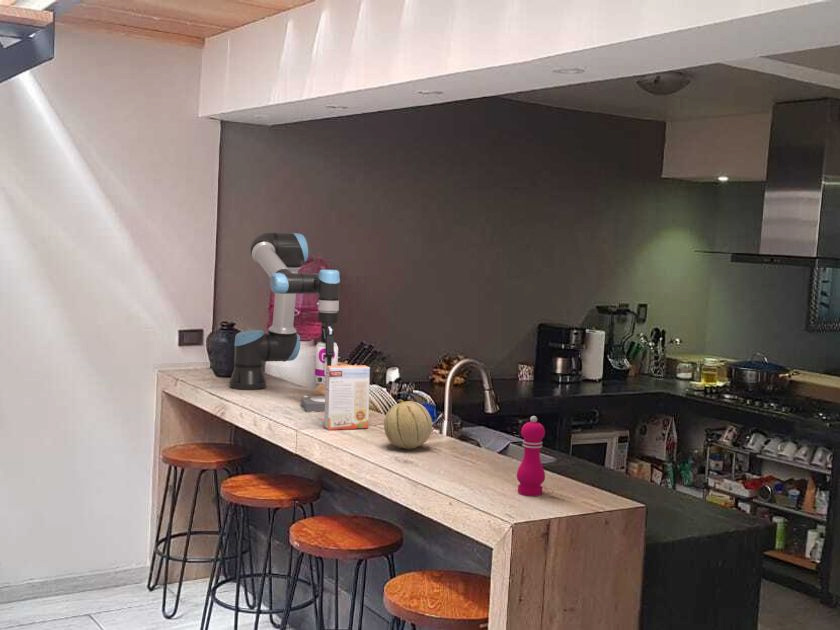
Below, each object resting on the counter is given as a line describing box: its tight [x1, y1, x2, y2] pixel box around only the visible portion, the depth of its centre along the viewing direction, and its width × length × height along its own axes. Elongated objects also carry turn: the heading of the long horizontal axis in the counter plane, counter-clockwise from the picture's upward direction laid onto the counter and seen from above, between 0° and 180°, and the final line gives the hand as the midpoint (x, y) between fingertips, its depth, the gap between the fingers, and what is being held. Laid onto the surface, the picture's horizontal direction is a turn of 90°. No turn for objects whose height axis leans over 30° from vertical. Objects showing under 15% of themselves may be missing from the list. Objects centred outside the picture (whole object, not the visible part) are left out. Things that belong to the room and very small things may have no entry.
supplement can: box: [314, 341, 339, 386], centre depth 357 cm, size 8×8×15 cm
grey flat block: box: [300, 394, 325, 412], centre depth 358 cm, size 14×16×4 cm
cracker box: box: [323, 364, 371, 431], centre depth 322 cm, size 14×6×21 cm, turn 110°
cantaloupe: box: [383, 398, 433, 450], centre depth 295 cm, size 15×15×15 cm
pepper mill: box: [516, 415, 546, 497], centre depth 247 cm, size 7×7×20 cm
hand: (326, 373), depth 357 cm, fingers closed on supplement can, 8 cm apart
